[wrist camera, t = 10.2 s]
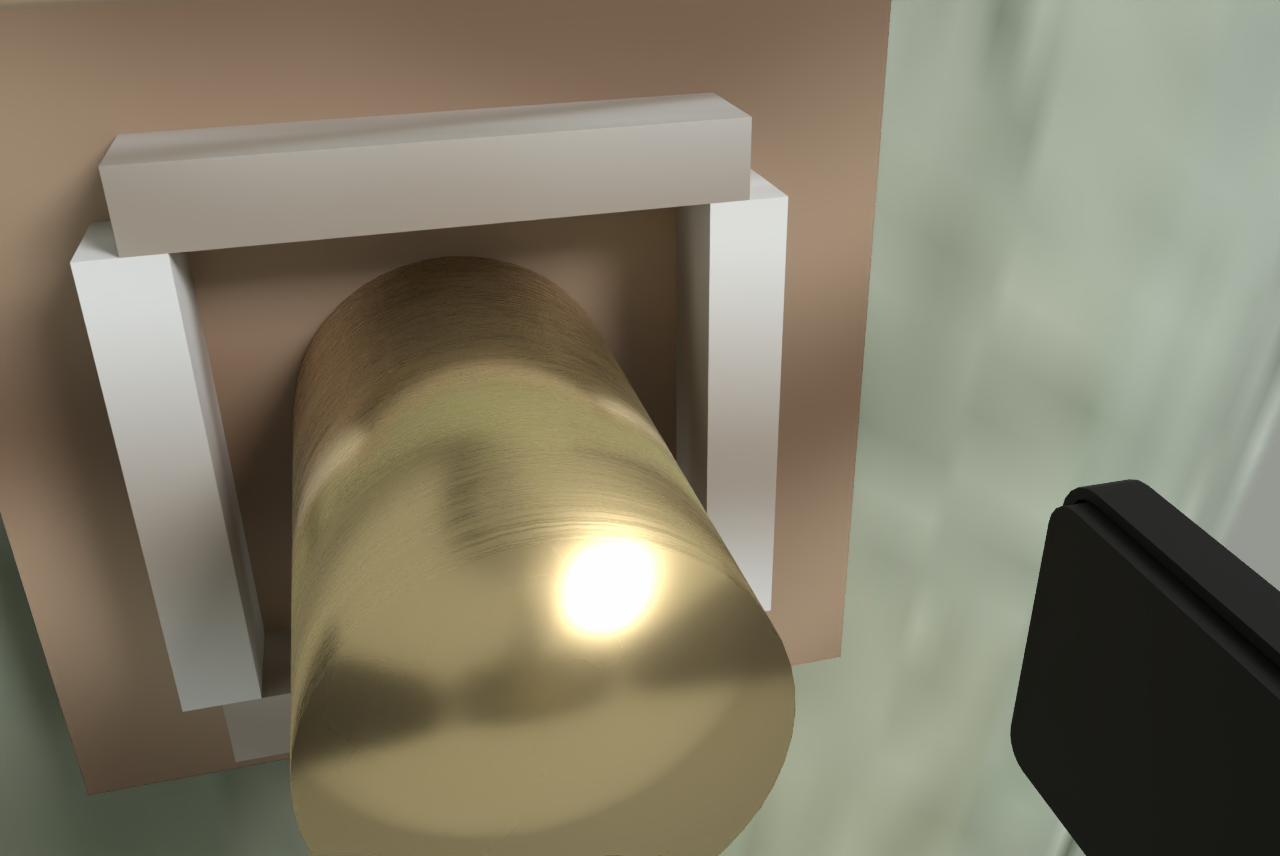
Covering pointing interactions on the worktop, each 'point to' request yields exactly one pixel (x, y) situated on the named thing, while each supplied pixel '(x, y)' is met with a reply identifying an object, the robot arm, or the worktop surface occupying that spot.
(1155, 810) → the robot arm
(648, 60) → the fitting board
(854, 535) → the worktop surface
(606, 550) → the cylinder
